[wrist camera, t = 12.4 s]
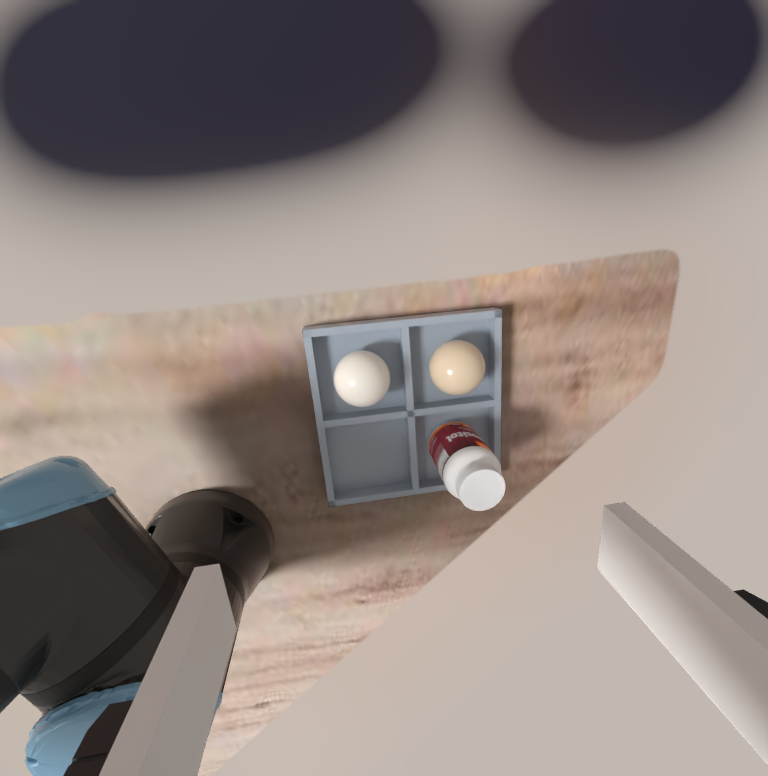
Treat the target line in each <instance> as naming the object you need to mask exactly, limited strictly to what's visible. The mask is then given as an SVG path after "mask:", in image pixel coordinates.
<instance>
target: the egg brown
mask: <svg viewBox="0 0 768 776" xmlns="http://www.w3.org/2000/svg"><path fill="white" fill-rule="evenodd" d="M429 374H430V377H431V380H432V381H433V383H434V384H435V386H436V387H437V388H438V389H439V390H441V391H442V392H444V393H447V394H450V395H464V394H467V393H469V392H471V391H473V390H474V389H476V388H477V387H478V386H479V384H480V383H481V381H482V380H483V377H484V374H485V360H484V357H483V355H482V353H481V352H480V350H479V349H478V348H477V347H476V346H474V345H473V344H471V343H470V342H467V341H464V340H451V341H448V342H445V343H443V344H442V345H440V346H439V347H438V348H437V349H436V350H435V351H434V353H433V354H432V356H431V359H430V362H429Z"/></svg>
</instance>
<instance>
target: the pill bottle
mask: <svg viewBox="0 0 768 776" xmlns="http://www.w3.org/2000/svg"><path fill="white" fill-rule="evenodd" d="M428 449H429V453H430V456H431V458H432V460H433V462H434V464H435V466H436V468H437V470H438V472H439V474H440V476H441V478H442V480H443V482H444V484H445V486H446V488H447V490H448V491H449V492H450V493H451V494H452V495H453V496H454V497H456V498H458V499H460V500H461V502H462V503H463V504H464V505H465V506H466V507H467V508H469V509H471V510H474V511H484V510H488V509H490V508H492V507H494V506H495V505H497V504H498V503H499V502H500V500H501V499H502V497H503V496H504V493H505V488H506V485H505V481H504V478H503V477H502V475H501V466H500V463H499V461H498V459H497V457H496V456H495V455H494V454H493V452H492V451H491V450H490V449H489V448H488V446H487V445H486V444H485V443H484V441H483V440H482V439H481V438H480V437H479V436H478V434H477V433H476V432H475V431H474V430H473V429H472V427H471V426H469V425H468V424H466V423H464V422H461V421H449V422H445V423H443V424H441V425H440V426H438V427H437V428H436V429H435V430H434V431H433V432H432V434H431V436H430V439H429V443H428Z"/></svg>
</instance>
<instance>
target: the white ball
mask: <svg viewBox="0 0 768 776" xmlns="http://www.w3.org/2000/svg"><path fill="white" fill-rule="evenodd" d="M333 379H334V386H335V389H336V391H337V393H338V395H339V396H340V397H341V398H342V399H343V400H344V401H345V402H346V403H348V404H350V405H353V406H356V407H368V406H372V405H374V404H376V403H378V402H379V401H380V400H381V399H382V398H383V397H384V396H385V395H386V393H387V391H388V389H389V386H390V372H389V368H388V366H387V364H386V363H385V361H384V360H383V359H382V358H381V357H380V356H378V355H377V354H375V353H373V352H370V351H364V350H359V351H354V352H351V353H349V354H347V355H346V356H344V357H343V358H342V359H341V360H340V361H339V363H338V364H337V366H336V368H335V371H334V378H333Z"/></svg>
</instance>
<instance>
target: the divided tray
mask: <svg viewBox="0 0 768 776" xmlns="http://www.w3.org/2000/svg"><path fill="white" fill-rule="evenodd" d="M302 333H303V339H304V346H305V352H306V359H307V366H308V372H309V379H310V385H311V392H312V399H313V405H314V412H315V418H316V425H317V432H318V438H319V445H320V451H321V458H322V465H323V471H324V478H325V484H326V491H327V498H328V504H329V507H335V506H341V505H348V504H355V503H362V502H369V501H376V500H382V499H389V498H396V497H403V496H410V495H417V494H424V493H430V492H437V491H444V490H447V488H446V486H445V484H444V482H443V480H442V478H441V476H440V474H439V472H438V470H437V468H436V466H435V464H434V462H433V460H432V458H431V456H430V453H429V449H428V443H429V439H430V436H431V434H432V432H433V431H434V430H435V429H436V428H437V427H438V426H440V425H441V424H443V423H445V422H449V421H461V422H464V423H466V424H468V425H469V426H471V427H472V429H473V430H474V431H475V432H476V433H477V434H478V436H479V437H480V438H481V439H482V440H483V441H484V443H485V444H486V445H487V446H488V448H489V449H490V450H491V451H492V452H493V454H494V455H495V456H496V457H497V459H498V461H499V463H500V466H501V368H502V309H498V308H494V307H488V308H479V309H469V310H459V311H450V312H440V313H430V314H421V315H411V316H401V317H392V318H382V319H372V320H363V321H353V322H343V323H334V324H324V325H314V326H305V327H304V328H303V330H302ZM451 340H464V341H467V342H470V343H471V344H473V345H474V346H476V347H477V348H478V349H479V350H480V352H481V353H482V355H483V357H484V360H485V374H484V377H483V380H482V381H481V383H480V384H479V386H478V387H477V388H476V389H474V390H473V391H471V392H469V393H467V394H464V395H450V394H447V393H444V392H442V391H441V390H439V389H438V388H437V387H436V386H435V384H434V383H433V381H432V380H431V377H430V374H429V362H430V359H431V356H432V354H433V353H434V351H435V350H436V349H437V348H438V347H439V346H440V345H442V344H443V343H445V342H448V341H451ZM359 350H364V351H370V352H373V353H375V354H377V355H378V356H380V357H381V358H382V359H383V360H384V361H385V363H386V364H387V366H388V368H389V372H390V386H389V389H388V391H387V393H386V395H385V396H384V397H383V398H382V399H381V400H380V401H379V402H378V403H376V404H374V405H372V406H368V407H356V406H353V405H350V404H348V403H346V402H345V401H344V400H343V399H342V398H341V397H340V396H339V395H338V393H337V391H336V389H335V386H334V379H333V378H334V371H335V368H336V366H337V364H338V363H339V361H340V360H341V359H342V358H343V357H344V356H346V355H347V354H349V353H351V352H354V351H359Z"/></svg>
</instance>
